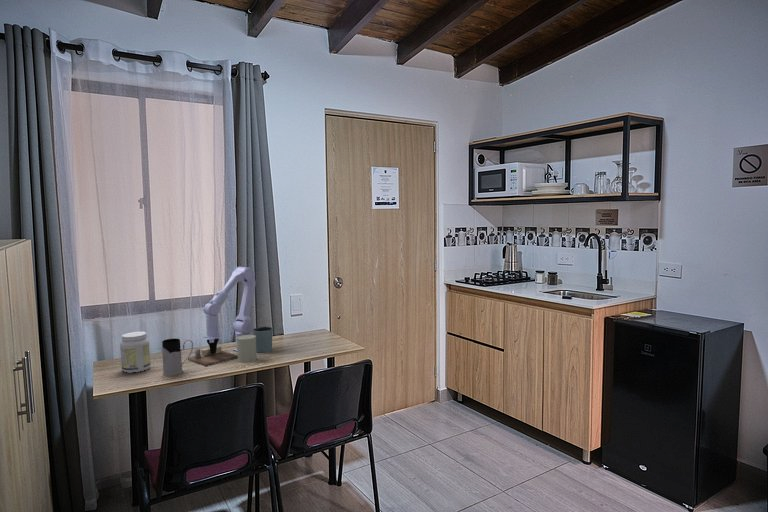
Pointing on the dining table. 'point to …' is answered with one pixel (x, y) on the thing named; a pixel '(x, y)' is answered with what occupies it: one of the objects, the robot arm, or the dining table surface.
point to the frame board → (211, 357)
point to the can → (246, 348)
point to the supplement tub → (135, 352)
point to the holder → (172, 356)
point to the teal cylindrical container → (263, 339)
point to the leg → (207, 351)
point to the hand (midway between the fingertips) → (213, 353)
